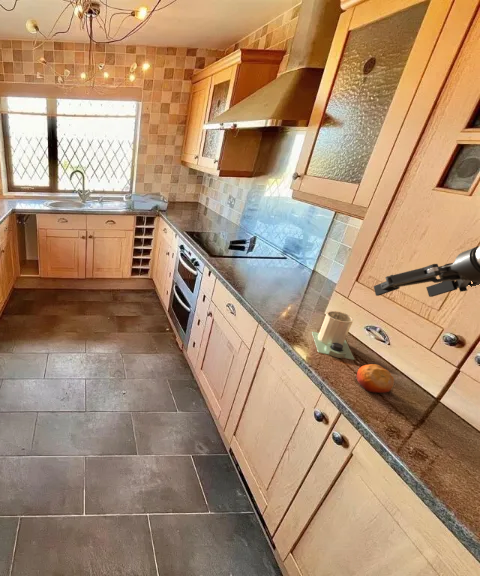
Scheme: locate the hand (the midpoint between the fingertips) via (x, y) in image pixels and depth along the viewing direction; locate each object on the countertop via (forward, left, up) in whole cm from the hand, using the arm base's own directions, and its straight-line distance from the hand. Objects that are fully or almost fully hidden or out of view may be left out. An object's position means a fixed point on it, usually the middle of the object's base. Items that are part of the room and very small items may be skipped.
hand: (402, 291), depth 84 cm
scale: (+7, -9, -28) cm, 30 cm away
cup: (+7, -11, -26) cm, 29 cm away
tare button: (+7, -4, -25) cm, 26 cm away
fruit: (+1, +9, -28) cm, 29 cm away
